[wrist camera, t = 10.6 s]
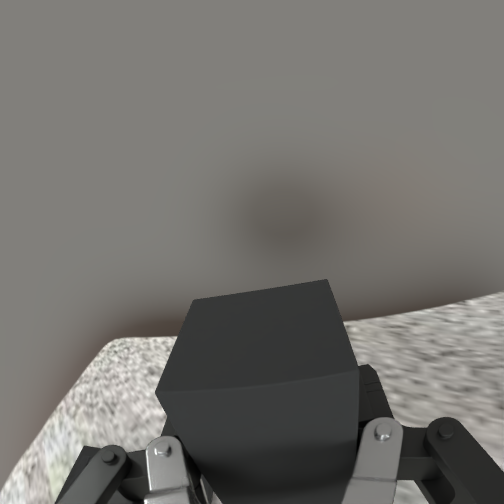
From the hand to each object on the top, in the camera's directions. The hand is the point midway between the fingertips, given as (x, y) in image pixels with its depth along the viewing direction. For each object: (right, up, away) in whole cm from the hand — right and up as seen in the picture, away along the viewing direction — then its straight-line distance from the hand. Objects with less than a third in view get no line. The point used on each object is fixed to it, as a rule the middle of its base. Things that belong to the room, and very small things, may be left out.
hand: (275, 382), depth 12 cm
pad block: (+1, -6, 0) cm, 6 cm away
